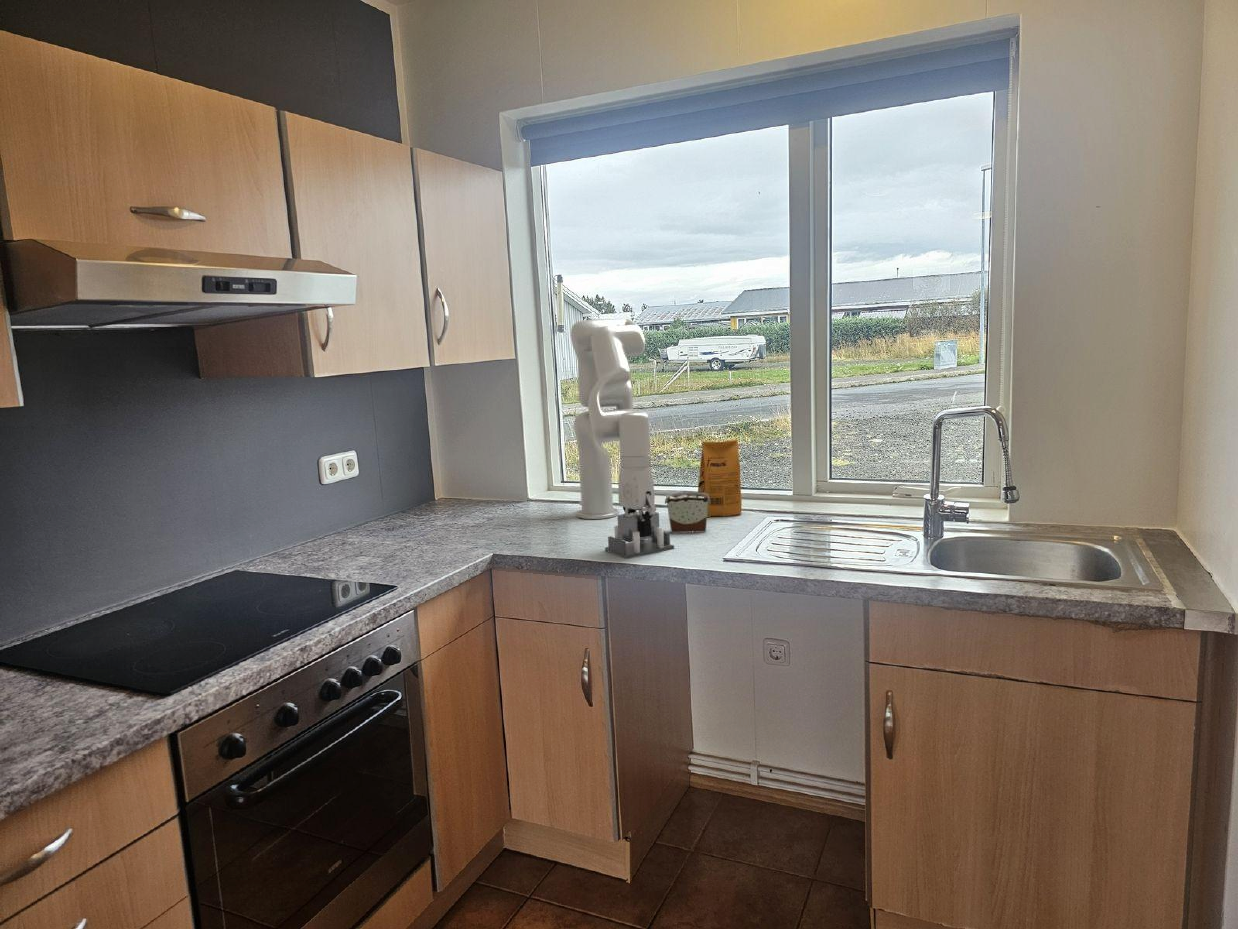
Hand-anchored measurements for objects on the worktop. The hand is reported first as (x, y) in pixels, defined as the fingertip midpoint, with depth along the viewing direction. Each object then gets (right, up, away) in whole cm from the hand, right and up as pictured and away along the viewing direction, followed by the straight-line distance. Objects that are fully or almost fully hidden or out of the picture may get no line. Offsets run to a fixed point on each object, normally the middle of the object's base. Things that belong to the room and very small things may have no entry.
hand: (638, 533), depth 201 cm
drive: (0, -1, 0) cm, 1 cm away
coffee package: (+25, +2, +38) cm, 45 cm away
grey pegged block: (0, -4, +1) cm, 4 cm away
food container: (+14, -1, +20) cm, 24 cm away
